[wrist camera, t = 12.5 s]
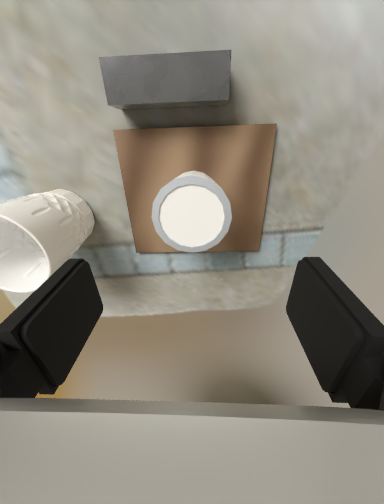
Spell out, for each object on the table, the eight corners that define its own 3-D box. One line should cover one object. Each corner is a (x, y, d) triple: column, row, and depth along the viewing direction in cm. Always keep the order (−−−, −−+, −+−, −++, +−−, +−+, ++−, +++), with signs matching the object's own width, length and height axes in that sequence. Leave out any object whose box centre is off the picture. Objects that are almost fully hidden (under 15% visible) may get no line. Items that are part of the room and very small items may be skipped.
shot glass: (175, 153, 22) (165, 160, 15) (234, 179, 23) (247, 195, 17) (156, 212, 25) (141, 237, 19) (208, 233, 26) (211, 263, 20)
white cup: (105, 244, 28) (62, 294, 19) (47, 243, 28) (-22, 292, 19) (92, 184, 24) (30, 211, 15) (25, 182, 24) (-74, 209, 15)
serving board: (274, 123, 21) (276, 123, 20) (257, 248, 27) (258, 251, 27) (115, 130, 21) (113, 130, 21) (137, 250, 28) (136, 252, 28)
